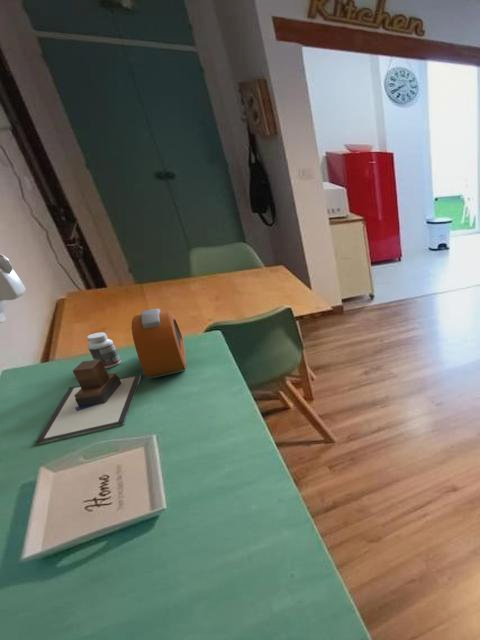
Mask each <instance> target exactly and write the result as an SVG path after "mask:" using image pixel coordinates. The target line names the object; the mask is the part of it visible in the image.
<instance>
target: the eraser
mask: <svg viewBox="0 0 480 640" xmlns="http://www.w3.org/2000/svg"><path fill="white" fill-rule="evenodd" d="M72 373H73V375H74V377H75V378H76V381H77V382H78V386H79V385H80V387H81V389H80V390H79V391H78V392H77V393H76V394H75V398H76V399H75V400H76V402H77V404H78V406H79V407H82V406H89V405H96V404H102V403H106V401H107V400H108V399H109V398H110V397H111V395H112V394H113V393H114V392H115V391H116V389H117V388H118V387H119V386H120V385H121V381H120V379H119V378H120V376H119V375H117V373H116V372H113V373H108V371H107V368H105V367H104V365H103V362H102V360H101V359H99V360H94V359H91V360H84V361H81V362H80V363H79V364H78V365H77V366H76V367H75V368H74V369H73V370H72Z"/></svg>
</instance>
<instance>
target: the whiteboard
mask: <svg viewBox="0 0 480 640" xmlns="http://www.w3.org/2000/svg"><path fill="white" fill-rule="evenodd" d="M142 376H143V375H142V374H141V373H138V374H133V375H127V376H122V377H119V379H120V381H121V385H120V386H119V387H118V388H117V389H116V391H115V392H114V393H113V394H112V395H111V397H110V398H109V399H108V400H107V401H106V403H102V404H96V405H89V406H82V407H79V406H78V404H77V402H76V400H75V399H76V398H75V394H76V393H77V392H78V391H79V390H80V389H81V387H80V385H79V384H78V385H75V386H69V387H68V388H67V391H66V392H65V393H64V395H63V397H62V399H61V401H60V402H59V404H58V405H57V407H55V409H54V412H53V413H52V415H51V417H50V418H49V420H48V421H47V423H46V425H45V426H44V428H43V430H42V431H41V433H40V434H39V435H38V437H37V439H36V441H35V442H34V444H35V445H36V446H39V445H42V444H47V443H51V442H56V441H60V440H65V439H68V438H74V437H76V436H81V435H86V434H91V433H94V432H99V431H104V430H109V429H111V428H115V427H120V426H124V425H125V424H126V420H127V419H128V416H129V413H130V409H131V408H132V404H133V401H134V398H135V396H136V392H137V389H138V387H139V385H140V382H141V379H142Z"/></svg>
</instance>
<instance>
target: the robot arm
mask: <svg viewBox="0 0 480 640" xmlns="http://www.w3.org/2000/svg"><path fill="white" fill-rule="evenodd" d="M26 290H27V289H26V286H25V285H24V283H23V281H22V279H21V278H20V277H19V275H18V274H17V273H16V271H15V269H14V268H13V265H12V264H11V262H10V260H9V258H8V257H7V256H5V255H3V254H1V253H0V324H2V323H4V322H6V321H7V317H6V316H5V314H4V310H5V307H6V304H7V301H13V300H17V299H18V298H20V297H23V296H24V295H25V292H26Z"/></svg>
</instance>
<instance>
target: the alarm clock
mask: <svg viewBox="0 0 480 640" xmlns="http://www.w3.org/2000/svg"><path fill="white" fill-rule="evenodd" d="M131 334H132V339H133V343H134V348H135V350H136V351H135V352H136V354H137V358H138V361H139V363H140V366H141V368H142V371H143V373H144V375H145V376H146V377H147V378H151V379H155V378H160V377H164V376H169V375H172V374H178V373H181V372H185V371H186V369H187V357H186V347H185V340H184V337H183V333H182V331H181V328H180V325H179V323H178V320H177V318H176V315H175V314H174V313H173V312H172V311H171V310H169V309H168V310H162V311H161V309H160V308H151V309H145V310H143V311H142V312H141V314H137V315H134V316H133V317H132V320H131Z"/></svg>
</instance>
